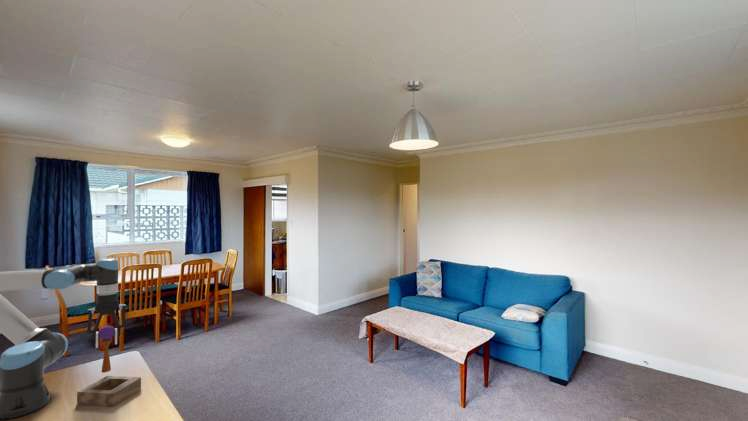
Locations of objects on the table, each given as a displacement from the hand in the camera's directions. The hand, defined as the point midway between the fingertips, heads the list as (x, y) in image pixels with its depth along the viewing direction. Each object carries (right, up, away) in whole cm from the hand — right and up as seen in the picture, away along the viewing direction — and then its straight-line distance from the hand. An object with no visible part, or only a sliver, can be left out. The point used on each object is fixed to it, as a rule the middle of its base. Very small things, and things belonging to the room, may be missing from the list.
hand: (106, 345), depth 147 cm
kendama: (0, -12, 0) cm, 12 cm away
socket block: (+11, -16, -12) cm, 23 cm away
